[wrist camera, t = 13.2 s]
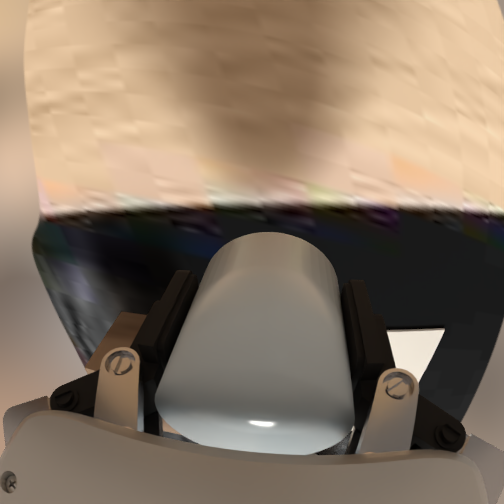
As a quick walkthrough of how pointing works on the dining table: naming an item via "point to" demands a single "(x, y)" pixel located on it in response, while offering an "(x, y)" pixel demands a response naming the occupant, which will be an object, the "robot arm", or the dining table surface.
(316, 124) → the dining table surface
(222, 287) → the grey rounded cylinder
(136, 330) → the walnut block
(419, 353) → the letter
